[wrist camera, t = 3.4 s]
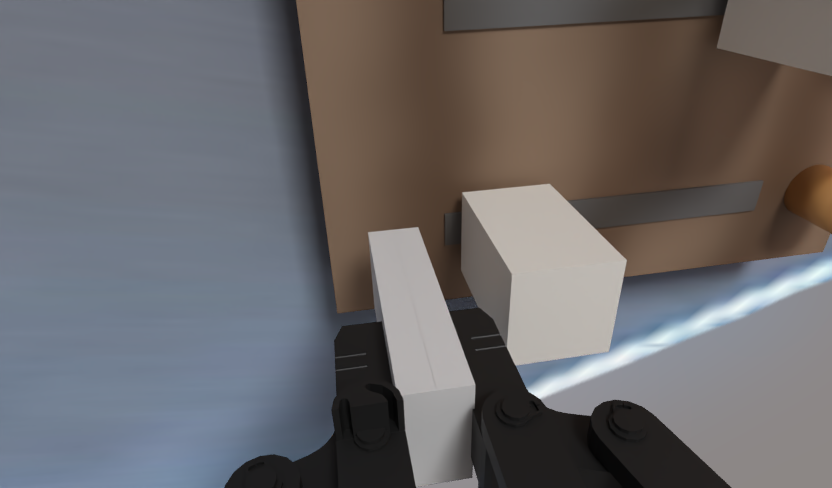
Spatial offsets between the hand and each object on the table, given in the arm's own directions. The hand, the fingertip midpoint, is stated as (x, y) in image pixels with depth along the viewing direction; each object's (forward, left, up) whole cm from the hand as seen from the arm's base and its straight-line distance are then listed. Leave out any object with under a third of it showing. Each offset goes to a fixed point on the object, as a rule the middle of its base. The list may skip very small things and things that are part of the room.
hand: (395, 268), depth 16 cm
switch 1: (+4, 0, -2) cm, 4 cm away
